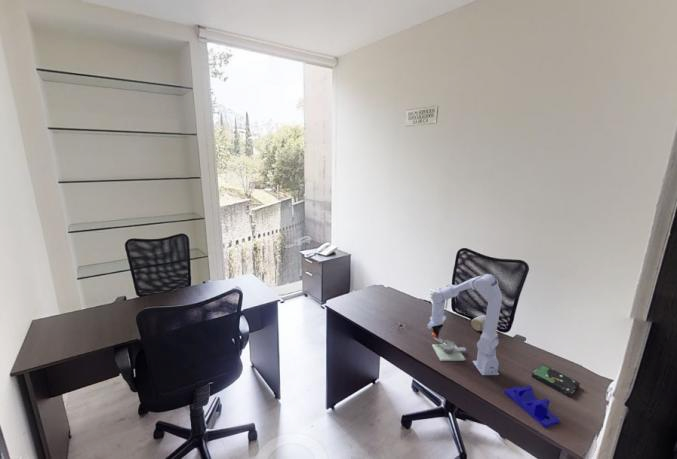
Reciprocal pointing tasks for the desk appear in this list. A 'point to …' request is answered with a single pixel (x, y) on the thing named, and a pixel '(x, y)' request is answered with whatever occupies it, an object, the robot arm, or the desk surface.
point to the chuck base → (446, 356)
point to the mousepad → (400, 325)
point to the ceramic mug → (479, 323)
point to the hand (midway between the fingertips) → (435, 336)
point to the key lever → (444, 342)
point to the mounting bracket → (532, 405)
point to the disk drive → (555, 380)
